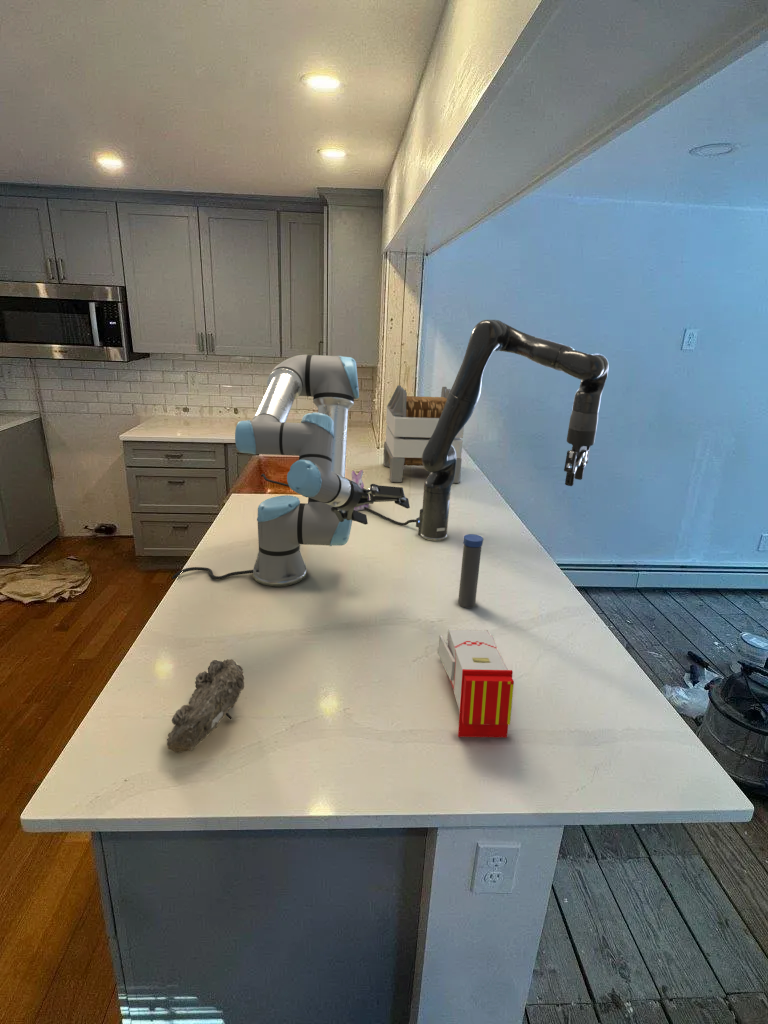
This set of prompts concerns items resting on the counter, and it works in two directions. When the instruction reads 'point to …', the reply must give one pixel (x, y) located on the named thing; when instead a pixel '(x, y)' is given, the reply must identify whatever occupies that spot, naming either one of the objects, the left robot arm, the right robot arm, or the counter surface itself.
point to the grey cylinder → (469, 576)
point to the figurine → (359, 481)
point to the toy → (478, 682)
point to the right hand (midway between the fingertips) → (573, 482)
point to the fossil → (206, 705)
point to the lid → (473, 540)
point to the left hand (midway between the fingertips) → (386, 511)
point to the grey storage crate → (414, 431)
